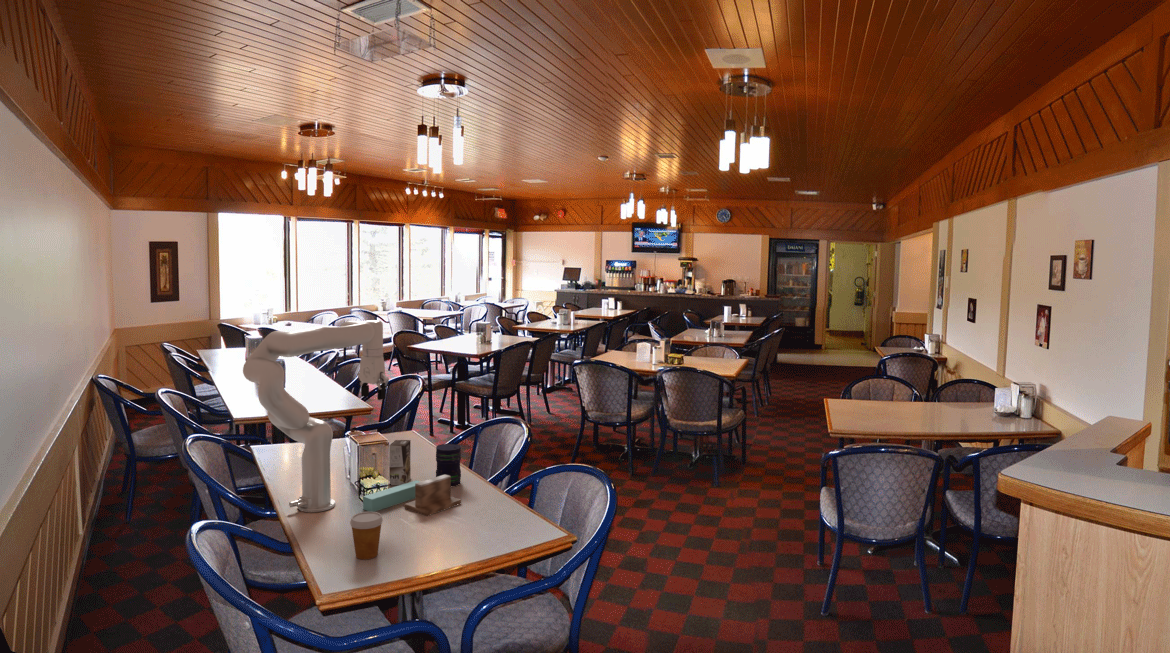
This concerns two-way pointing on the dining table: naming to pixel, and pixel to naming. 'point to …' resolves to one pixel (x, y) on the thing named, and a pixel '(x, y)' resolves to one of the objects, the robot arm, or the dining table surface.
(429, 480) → the walnut ridge stand
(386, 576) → the dining table surface
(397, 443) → the coffee box
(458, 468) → the storage jar
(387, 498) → the teal bar
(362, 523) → the disposable coffee cup
